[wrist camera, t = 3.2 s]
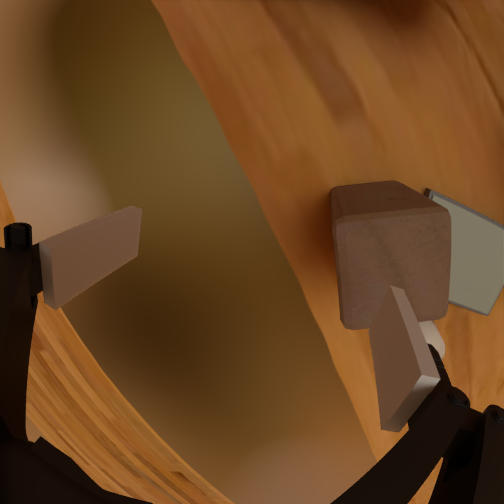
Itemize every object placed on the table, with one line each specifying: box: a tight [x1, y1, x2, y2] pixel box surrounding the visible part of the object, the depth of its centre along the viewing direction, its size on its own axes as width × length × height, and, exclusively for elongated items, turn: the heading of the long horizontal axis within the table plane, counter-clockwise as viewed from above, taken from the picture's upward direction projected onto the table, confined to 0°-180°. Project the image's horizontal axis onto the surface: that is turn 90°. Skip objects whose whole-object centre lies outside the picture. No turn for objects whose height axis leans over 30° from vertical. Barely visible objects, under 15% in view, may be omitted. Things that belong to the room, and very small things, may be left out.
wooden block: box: [330, 181, 451, 330], centre depth 31 cm, size 10×10×20 cm
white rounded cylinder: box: [418, 320, 445, 360], centre depth 40 cm, size 7×7×9 cm
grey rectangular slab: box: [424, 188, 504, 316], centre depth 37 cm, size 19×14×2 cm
